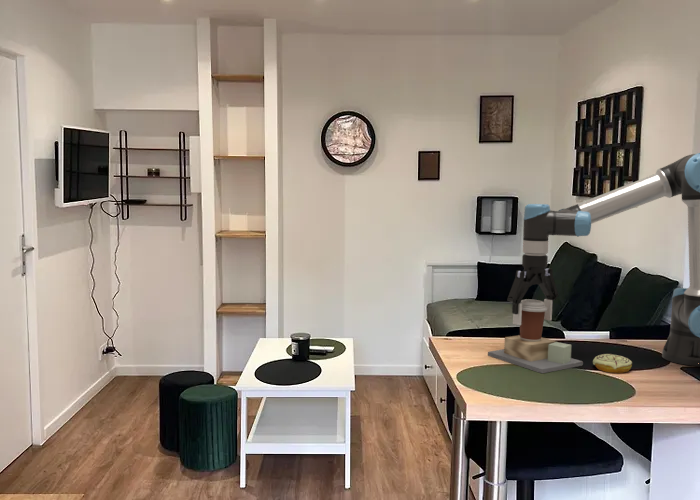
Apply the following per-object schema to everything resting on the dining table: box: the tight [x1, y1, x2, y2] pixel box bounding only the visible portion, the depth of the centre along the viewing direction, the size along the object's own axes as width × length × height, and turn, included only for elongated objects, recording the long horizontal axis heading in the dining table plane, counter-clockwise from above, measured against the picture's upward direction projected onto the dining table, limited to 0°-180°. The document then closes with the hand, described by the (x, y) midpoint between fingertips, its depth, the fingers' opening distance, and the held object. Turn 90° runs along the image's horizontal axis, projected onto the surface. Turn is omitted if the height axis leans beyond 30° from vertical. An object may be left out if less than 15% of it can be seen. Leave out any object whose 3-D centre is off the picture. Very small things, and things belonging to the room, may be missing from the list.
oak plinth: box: [503, 334, 557, 361], centre depth 205 cm, size 11×11×5 cm
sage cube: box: [548, 341, 572, 364], centre depth 199 cm, size 5×5×5 cm
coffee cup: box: [519, 298, 547, 342], centre depth 204 cm, size 9×9×12 cm
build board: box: [487, 348, 584, 374], centre depth 204 cm, size 22×18×1 cm
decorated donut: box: [592, 353, 633, 374], centre depth 197 cm, size 10×11×4 cm
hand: (532, 322), depth 204 cm, fingers open, 13 cm apart
